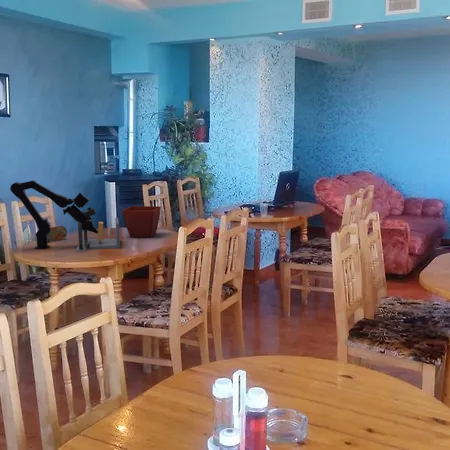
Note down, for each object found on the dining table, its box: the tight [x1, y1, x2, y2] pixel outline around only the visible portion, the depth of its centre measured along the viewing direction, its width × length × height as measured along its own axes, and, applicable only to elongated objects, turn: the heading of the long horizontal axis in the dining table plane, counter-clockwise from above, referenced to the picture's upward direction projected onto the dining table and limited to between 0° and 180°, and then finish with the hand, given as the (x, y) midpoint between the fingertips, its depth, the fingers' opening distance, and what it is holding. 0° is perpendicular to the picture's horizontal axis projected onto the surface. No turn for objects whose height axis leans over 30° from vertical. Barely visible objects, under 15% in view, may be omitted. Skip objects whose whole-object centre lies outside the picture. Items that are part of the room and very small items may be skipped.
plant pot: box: [121, 205, 162, 238], centre depth 367 cm, size 19×19×17 cm
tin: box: [46, 225, 68, 243], centre depth 354 cm, size 15×3×8 cm, turn 143°
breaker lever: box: [97, 221, 104, 243], centre depth 339 cm, size 2×5×11 cm, turn 11°
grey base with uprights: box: [89, 217, 121, 250], centre depth 339 cm, size 16×22×14 cm
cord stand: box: [75, 222, 91, 253], centre depth 337 cm, size 5×32×15 cm, turn 8°
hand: (97, 232), depth 338 cm, fingers closed, pressing on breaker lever
